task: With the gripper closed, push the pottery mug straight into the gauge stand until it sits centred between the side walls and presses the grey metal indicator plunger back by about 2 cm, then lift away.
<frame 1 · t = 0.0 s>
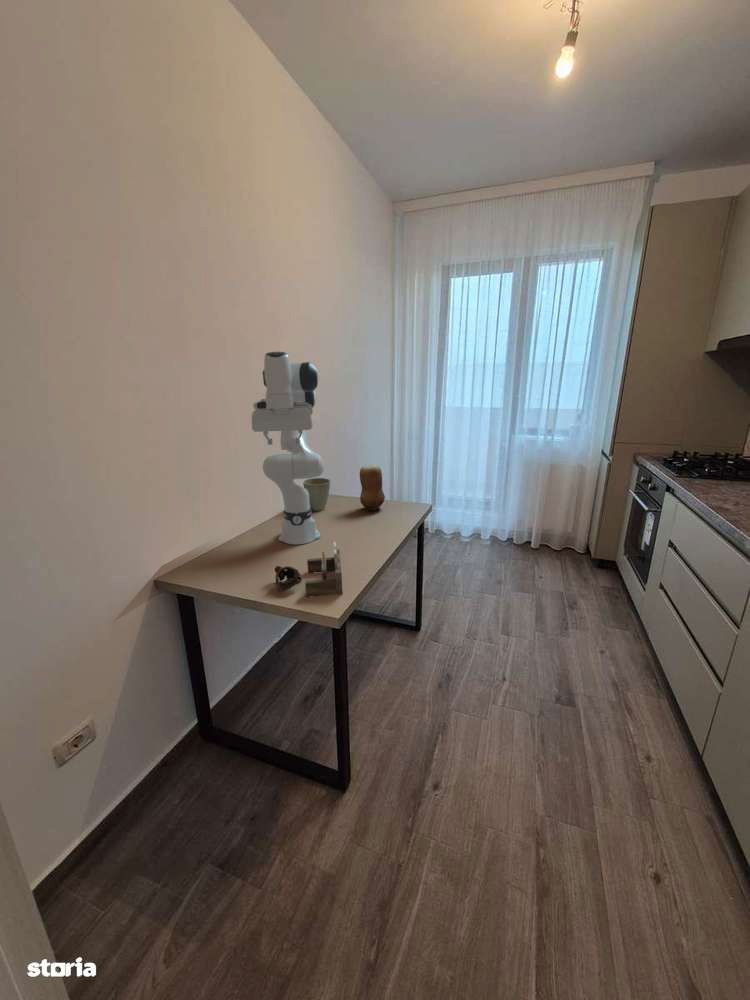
hand: (284, 443, 138), 48 cm above the table, tool pointing down, fingers open, 8 cm apart
pottery mug: (287, 585, 141), on the table
indicator plunger: (324, 566, 140), point 6 cm above the table, slide at 0.0 cm
butternut squash: (372, 510, 219), on the table
gauge stand: (327, 581, 142), on the table
plant pot: (318, 509, 223), on the table
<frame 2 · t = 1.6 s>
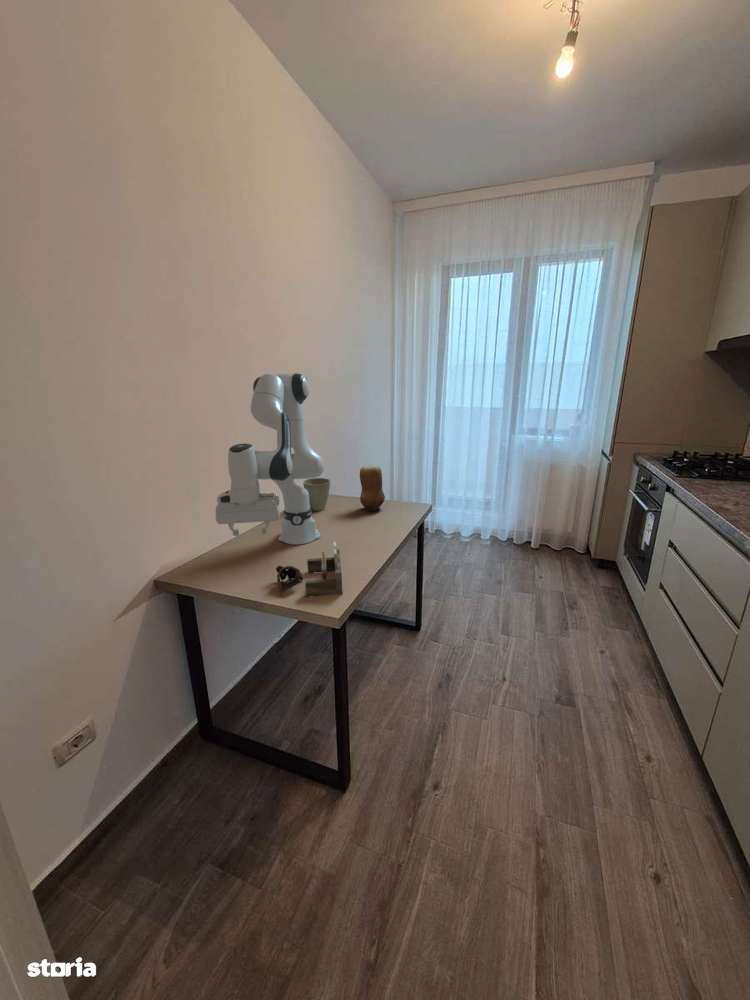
hand: (250, 534, 134), 20 cm above the table, tool pointing down, fingers open, 8 cm apart
nothing on the table moved.
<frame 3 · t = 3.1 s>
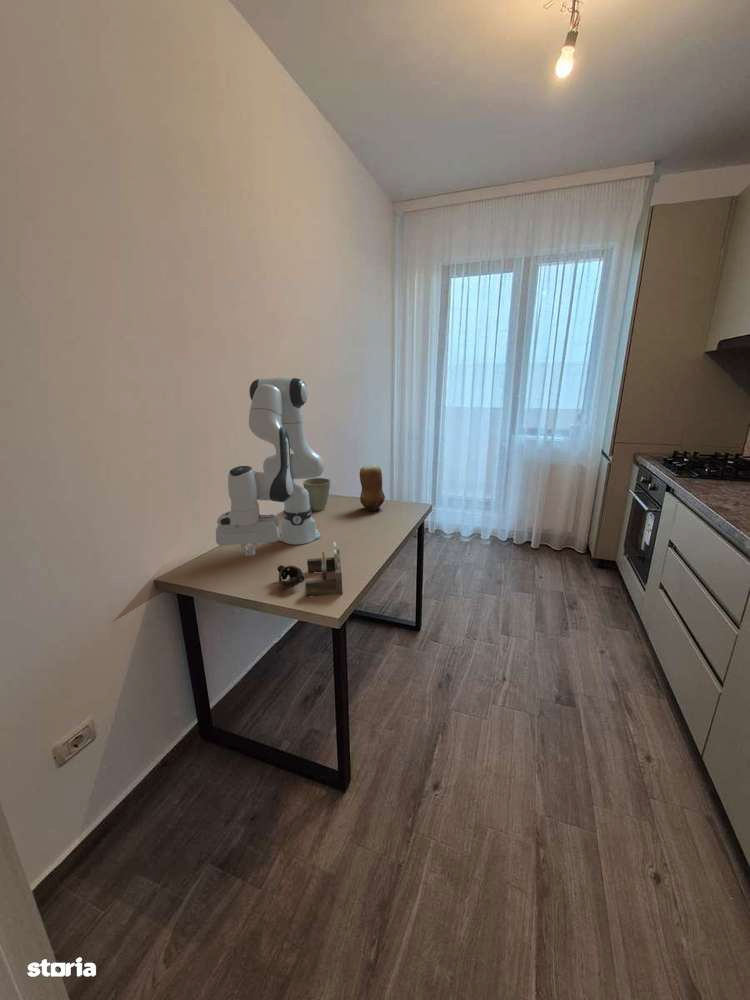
hand: (250, 554, 135), 13 cm above the table, tool pointing down, fingers closed
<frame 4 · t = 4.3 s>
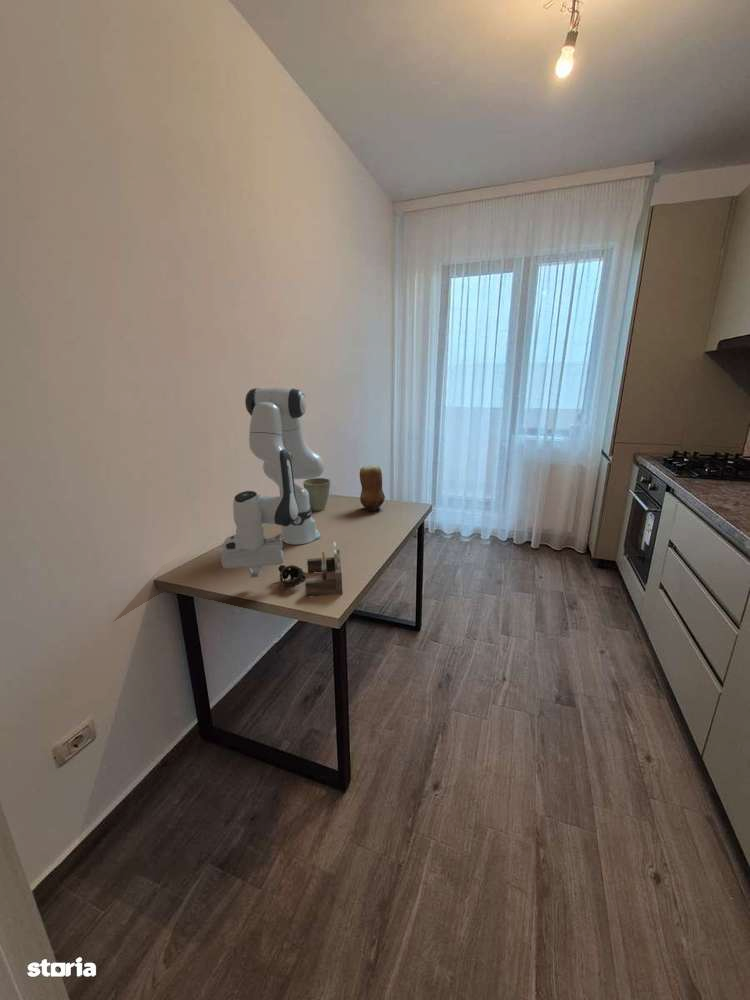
hand: (255, 576, 138), 4 cm above the table, tool pointing down, fingers closed
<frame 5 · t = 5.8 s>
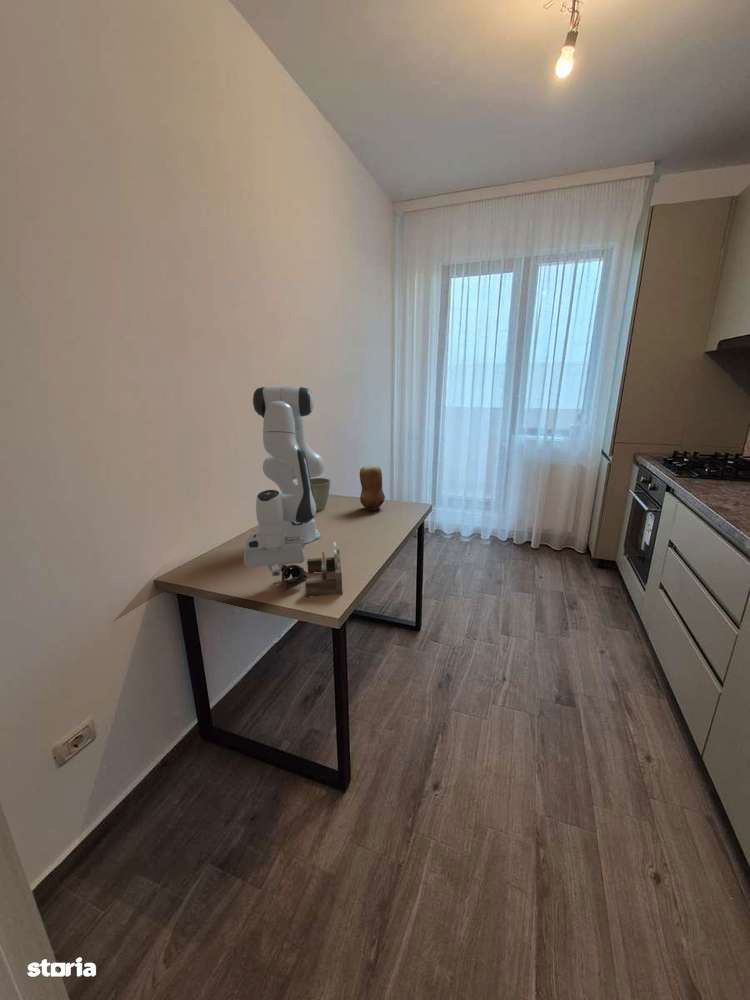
hand: (276, 575, 139), 4 cm above the table, tool pointing down, fingers closed
pottery mug: (293, 583, 142), on the table, touching gripper
everything else where it was.
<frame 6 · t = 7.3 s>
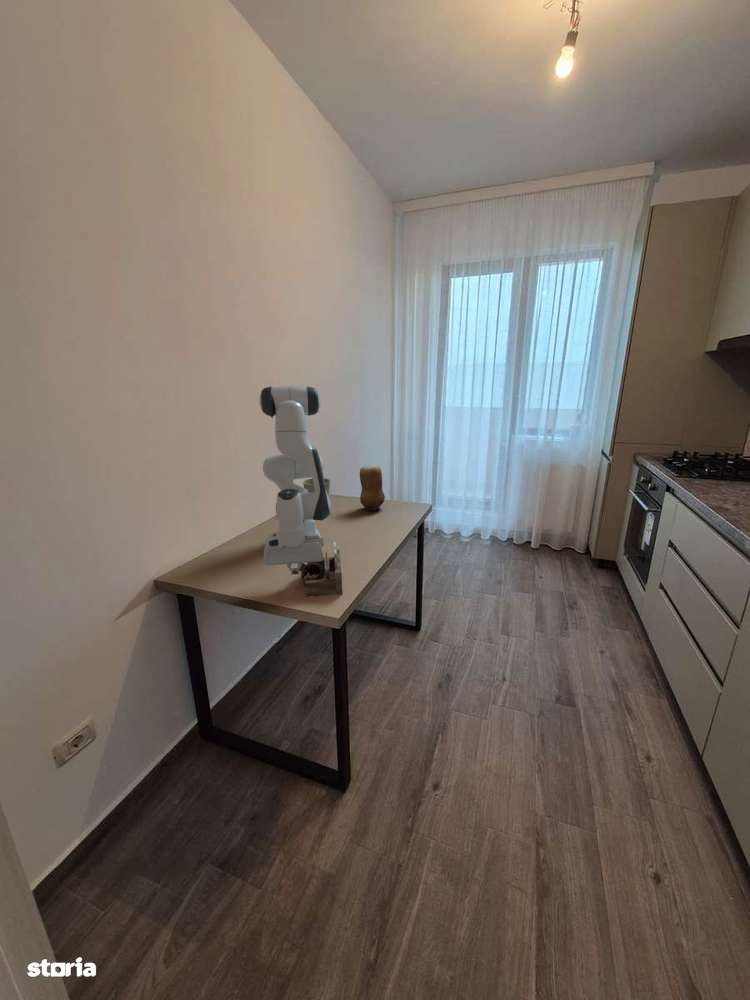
hand: (295, 573, 140), 4 cm above the table, tool pointing down, fingers closed
pottery mug: (311, 581, 143), on the table, touching gripper, indicator plunger
indicator plunger: (327, 566, 141), point 6 cm above the table, slide at 1.0 cm, touching pottery mug
everything else where it was.
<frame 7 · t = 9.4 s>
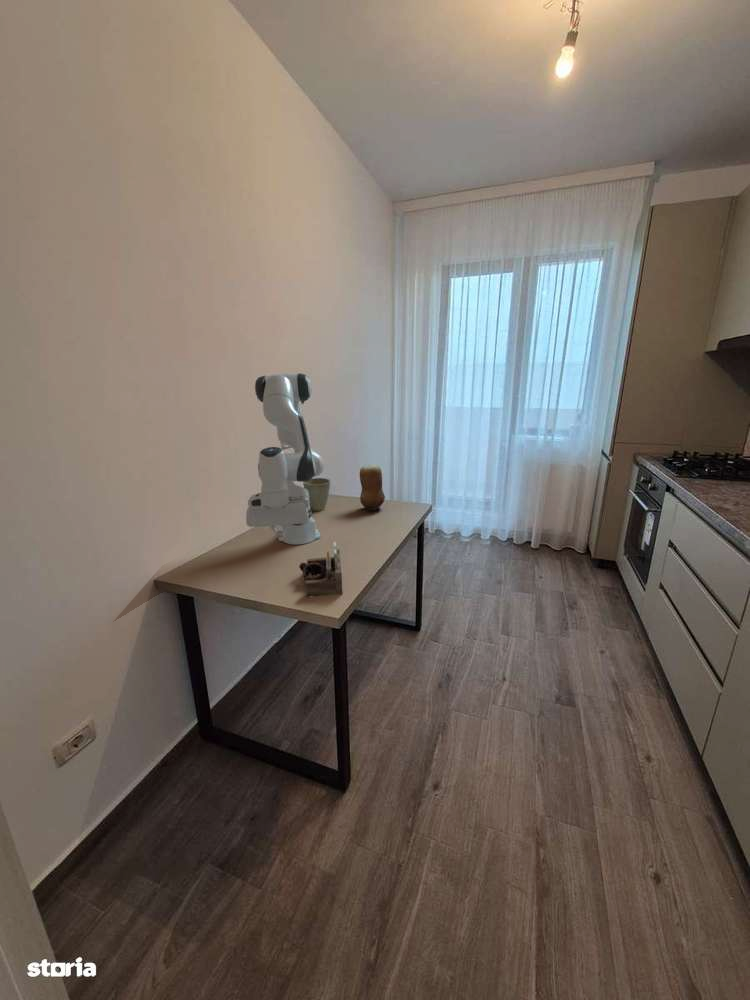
hand: (279, 536, 135), 18 cm above the table, tool pointing down, fingers closed
pottery mug: (313, 581, 143), on the table
indicator plunger: (328, 566, 141), point 6 cm above the table, slide at 1.6 cm
everything else where it was.
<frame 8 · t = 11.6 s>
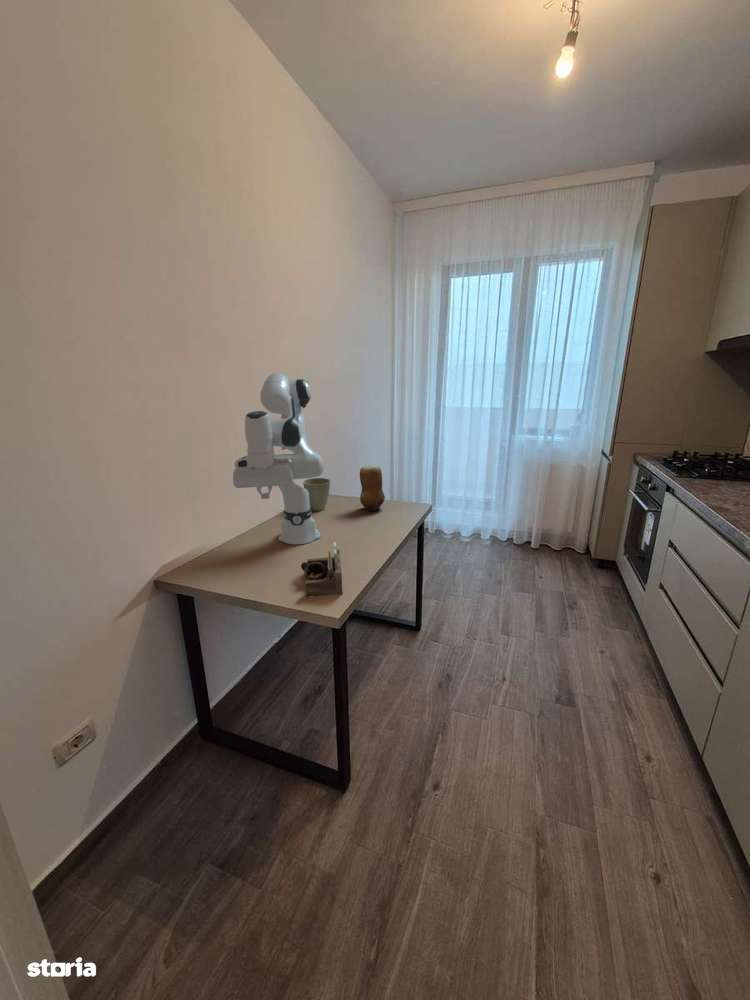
hand: (265, 498, 141), 29 cm above the table, tool pointing down, fingers closed
indicator plunger: (330, 566, 141), point 6 cm above the table, slide at 2.1 cm
everything else where it was.
at the end: indicator plunger slide at 2.1 cm; pottery mug 2.0 cm from the target spot on the gauge stand, point 0.0 cm above the gauge stand's base; pottery mug tilted 2° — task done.
